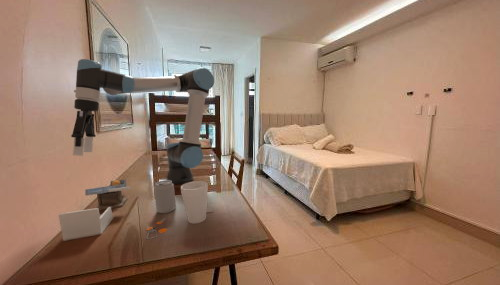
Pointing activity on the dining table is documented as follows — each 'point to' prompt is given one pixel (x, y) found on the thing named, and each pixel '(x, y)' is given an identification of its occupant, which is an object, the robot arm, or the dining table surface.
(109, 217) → the white rectangular box
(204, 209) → the foam cup
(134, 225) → the dining table surface
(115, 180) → the ball
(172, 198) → the can
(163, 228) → the key chain
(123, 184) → the lever
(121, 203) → the fulcrum
